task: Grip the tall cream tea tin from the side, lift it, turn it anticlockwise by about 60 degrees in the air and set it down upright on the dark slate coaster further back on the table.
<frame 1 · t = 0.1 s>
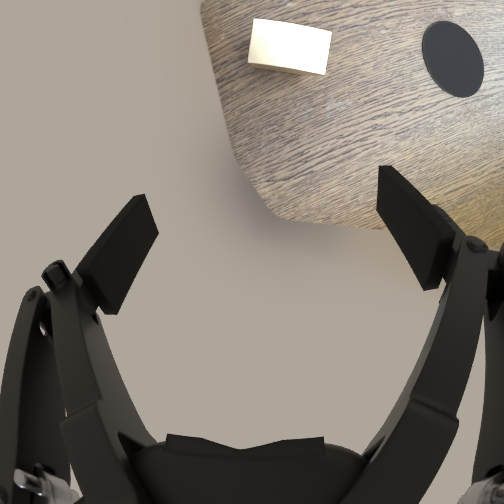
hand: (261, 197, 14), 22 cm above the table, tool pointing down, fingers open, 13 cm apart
tea tin: (281, 56, 26), on the table
coaster: (454, 58, 22), on the table
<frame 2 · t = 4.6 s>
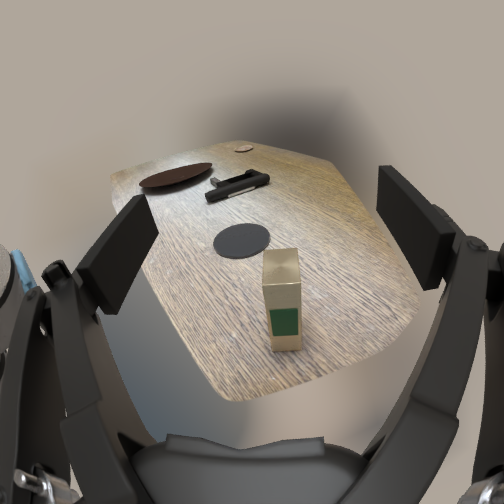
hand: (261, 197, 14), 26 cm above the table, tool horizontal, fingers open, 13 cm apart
tea tin: (286, 333, 38), on the table
coaster: (241, 240, 58), on the table
flatbread: (244, 149, 114), on the table
plate: (176, 179, 96), on the table
door handle: (232, 187, 82), on the table
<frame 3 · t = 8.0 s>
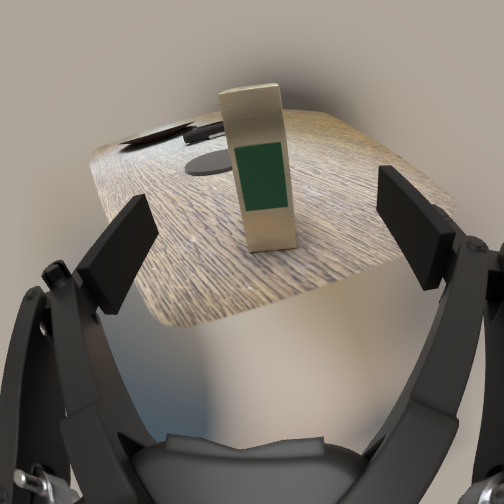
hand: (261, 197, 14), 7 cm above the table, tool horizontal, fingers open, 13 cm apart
tea tin: (272, 231, 25), on the table
coaster: (219, 162, 46), on the table
plate: (158, 138, 84), on the table
door handle: (215, 133, 70), on the table
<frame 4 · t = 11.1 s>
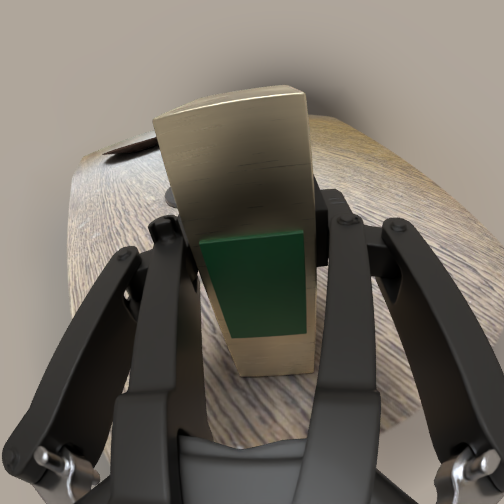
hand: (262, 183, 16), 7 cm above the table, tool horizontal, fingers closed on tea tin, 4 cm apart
tea tin: (276, 332, 16), on the table, touching gripper
plate: (146, 146, 75), on the table
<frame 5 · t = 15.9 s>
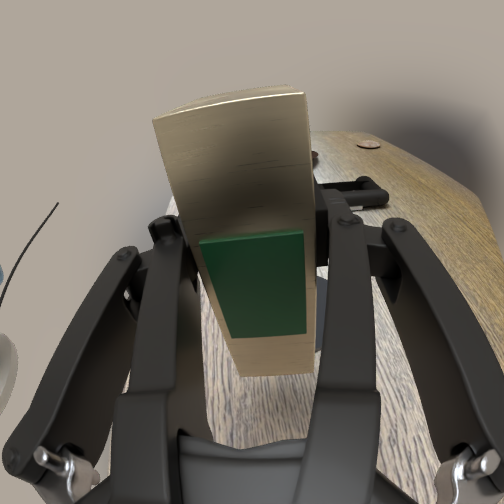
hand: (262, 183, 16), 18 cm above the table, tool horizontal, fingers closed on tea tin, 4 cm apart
tea tin: (276, 332, 16), point 11 cm above the table, touching gripper
coaster: (295, 311, 31), on the table
flatbread: (368, 146, 77), on the table
plate: (267, 164, 73), on the table
door handle: (331, 197, 52), on the table
when the fingers open (8 cm above the table, at t = 20.9 s): tea tin stays where it is, resting on coaster.
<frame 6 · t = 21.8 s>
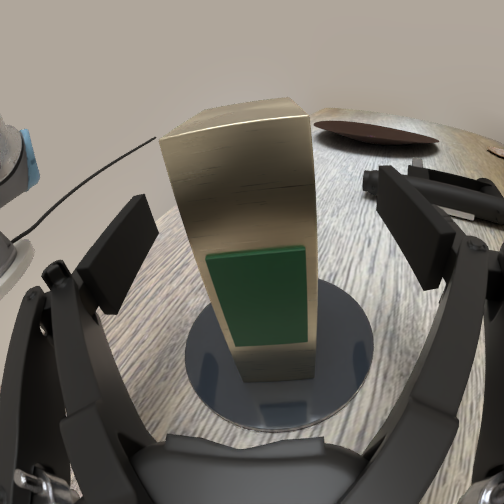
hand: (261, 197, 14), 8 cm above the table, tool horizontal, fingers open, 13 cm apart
tea tin: (278, 338, 16), point 1 cm above the table, touching coaster
coaster: (278, 343, 17), on the table
flatbread: (500, 155, 41), on the table
plate: (377, 139, 51), on the table
door handle: (438, 192, 30), on the table
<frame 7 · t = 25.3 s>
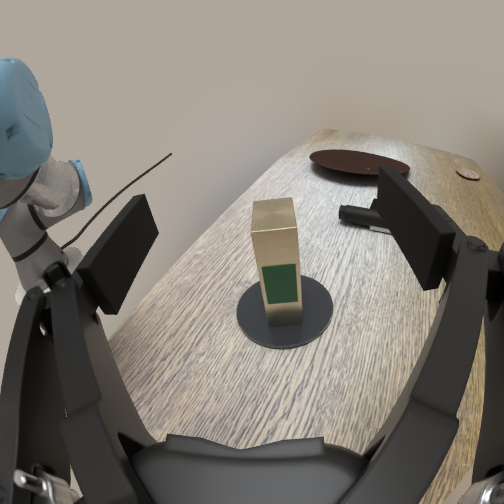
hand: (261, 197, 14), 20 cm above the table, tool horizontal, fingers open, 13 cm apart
tea tin: (284, 306, 33), point 1 cm above the table, touching coaster
coaster: (284, 309, 34), on the table
flatbread: (468, 175, 58), on the table
plate: (360, 168, 68), on the table
door handle: (395, 217, 47), on the table
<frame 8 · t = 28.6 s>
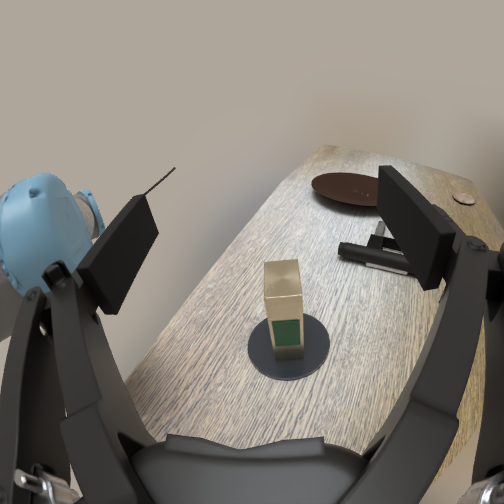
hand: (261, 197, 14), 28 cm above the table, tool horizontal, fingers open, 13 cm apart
tea tin: (288, 342, 38), point 1 cm above the table, touching coaster
coaster: (288, 344, 38), on the table
flatbread: (463, 200, 63), on the table
plate: (359, 194, 73), on the table
door handle: (390, 251, 51), on the table
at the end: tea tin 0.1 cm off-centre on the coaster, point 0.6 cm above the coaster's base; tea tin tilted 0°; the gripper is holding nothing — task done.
